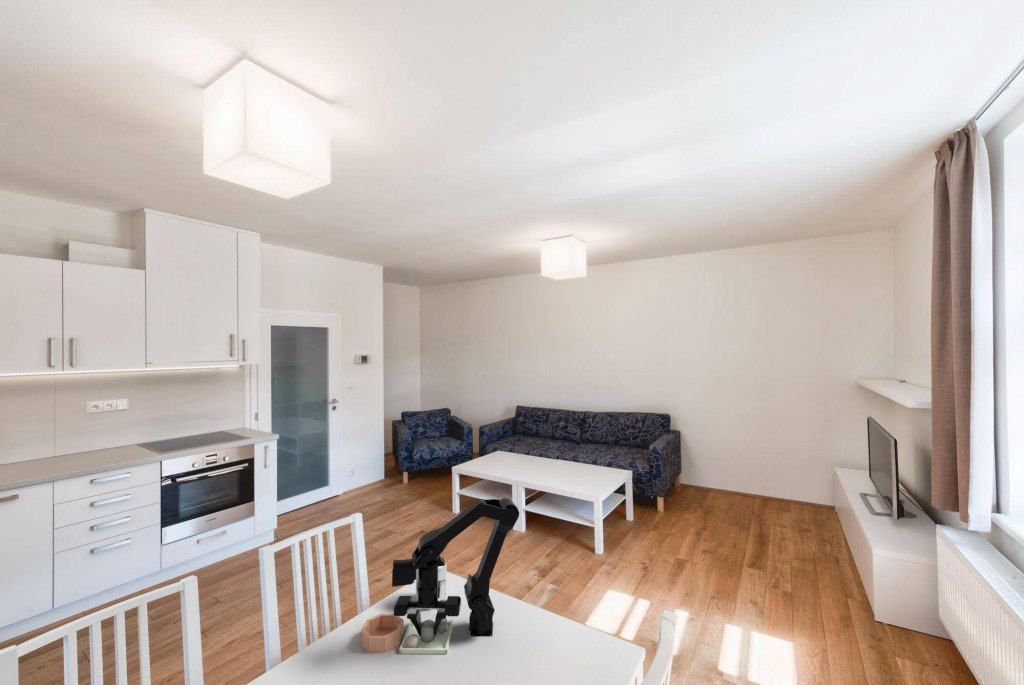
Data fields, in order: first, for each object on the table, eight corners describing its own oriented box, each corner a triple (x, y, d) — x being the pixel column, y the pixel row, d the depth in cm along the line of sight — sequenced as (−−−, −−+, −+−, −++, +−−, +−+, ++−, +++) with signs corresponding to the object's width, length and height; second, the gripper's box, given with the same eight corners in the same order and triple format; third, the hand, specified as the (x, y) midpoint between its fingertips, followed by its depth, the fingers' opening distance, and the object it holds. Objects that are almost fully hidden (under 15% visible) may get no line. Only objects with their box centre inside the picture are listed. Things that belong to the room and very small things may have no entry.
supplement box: (430, 612, 137) (430, 572, 137) (415, 604, 141) (415, 565, 142) (446, 601, 143) (447, 563, 143) (431, 594, 147) (432, 557, 148)
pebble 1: (418, 643, 121) (419, 634, 121) (416, 651, 118) (416, 641, 118) (408, 643, 121) (408, 633, 121) (405, 651, 118) (405, 641, 118)
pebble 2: (447, 626, 129) (447, 617, 129) (446, 632, 126) (446, 623, 126) (437, 626, 129) (437, 617, 129) (436, 632, 126) (436, 623, 126)
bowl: (406, 628, 129) (406, 613, 129) (396, 653, 118) (396, 638, 118) (370, 627, 129) (370, 613, 129) (356, 653, 118) (357, 637, 118)
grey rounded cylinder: (435, 633, 126) (436, 619, 126) (433, 642, 122) (433, 628, 122) (422, 633, 126) (422, 619, 126) (419, 642, 122) (419, 628, 122)
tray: (453, 625, 130) (453, 620, 130) (447, 655, 118) (447, 649, 118) (410, 625, 130) (410, 620, 130) (399, 655, 118) (399, 649, 118)
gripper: (463, 567, 132) (463, 618, 132) (403, 566, 132) (402, 617, 132) (458, 587, 121) (458, 642, 121) (393, 586, 121) (392, 642, 121)
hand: (427, 635), depth 124 cm, fingers closed on grey rounded cylinder, 4 cm apart
